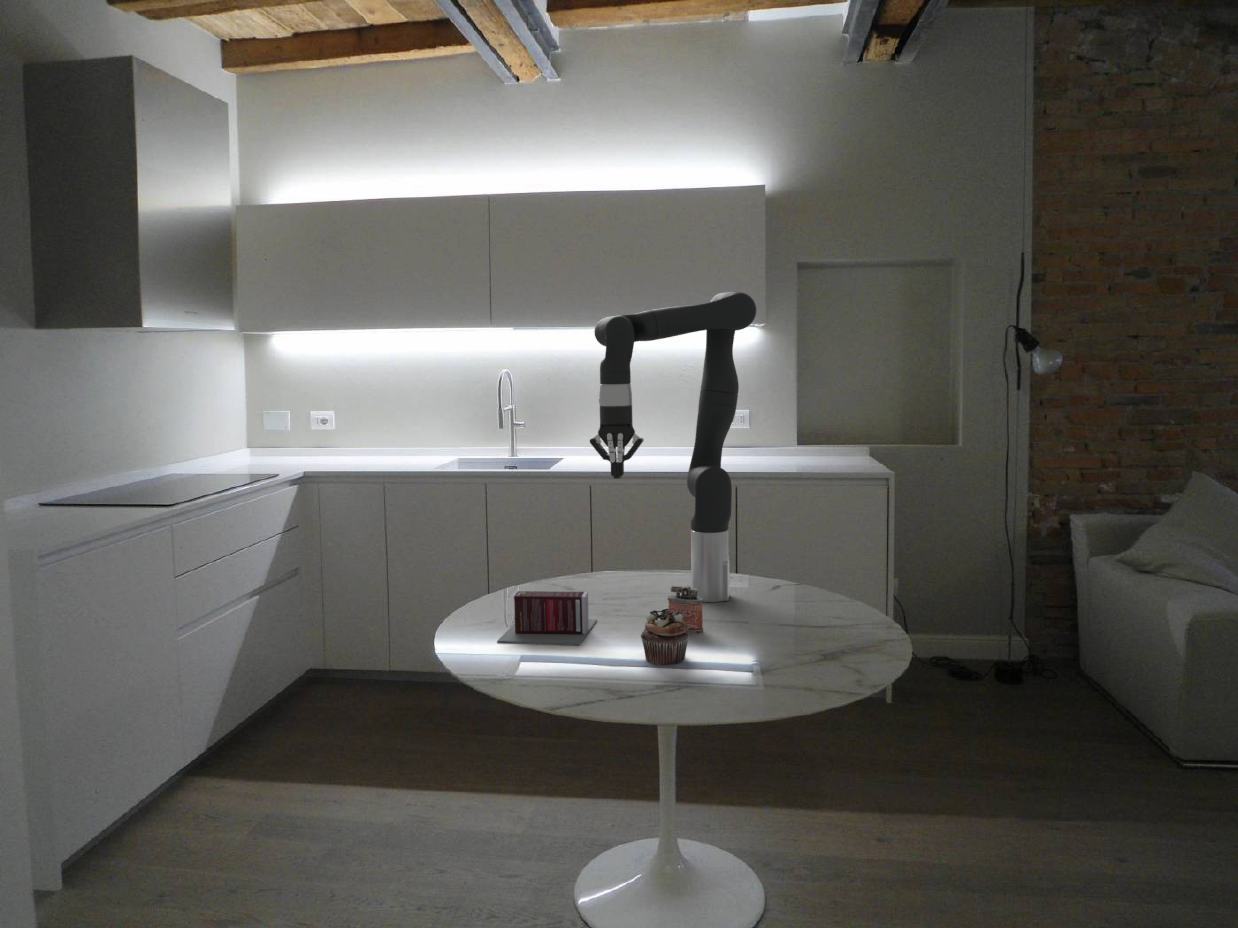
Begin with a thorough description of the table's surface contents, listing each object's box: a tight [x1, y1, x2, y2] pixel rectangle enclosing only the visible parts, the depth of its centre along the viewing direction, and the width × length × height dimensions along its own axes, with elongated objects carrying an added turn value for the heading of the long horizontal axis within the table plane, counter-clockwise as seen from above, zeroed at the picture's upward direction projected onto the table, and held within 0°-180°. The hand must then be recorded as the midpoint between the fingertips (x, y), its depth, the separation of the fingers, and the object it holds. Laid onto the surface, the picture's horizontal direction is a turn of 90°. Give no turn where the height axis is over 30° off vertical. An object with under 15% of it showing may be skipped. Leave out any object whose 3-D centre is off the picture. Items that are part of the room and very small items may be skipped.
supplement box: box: [513, 590, 589, 634], centre depth 205 cm, size 9×5×16 cm
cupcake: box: [640, 608, 690, 666], centre depth 187 cm, size 10×10×10 cm
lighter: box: [667, 585, 704, 635], centre depth 205 cm, size 8×3×10 cm, turn 65°
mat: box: [496, 618, 598, 646], centre depth 207 cm, size 18×18×1 cm
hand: (617, 478), depth 218 cm, fingers closed
